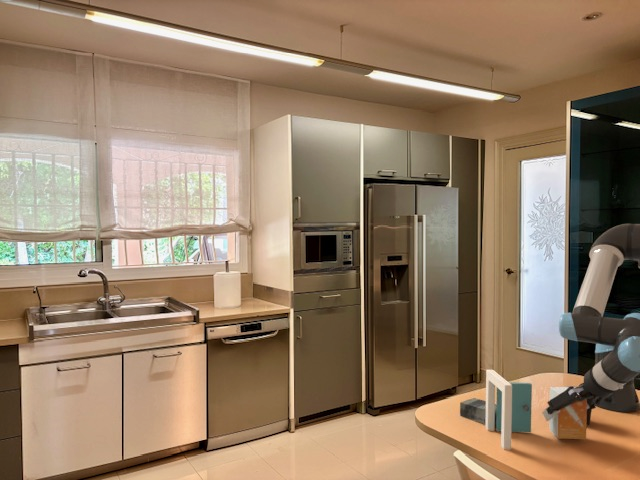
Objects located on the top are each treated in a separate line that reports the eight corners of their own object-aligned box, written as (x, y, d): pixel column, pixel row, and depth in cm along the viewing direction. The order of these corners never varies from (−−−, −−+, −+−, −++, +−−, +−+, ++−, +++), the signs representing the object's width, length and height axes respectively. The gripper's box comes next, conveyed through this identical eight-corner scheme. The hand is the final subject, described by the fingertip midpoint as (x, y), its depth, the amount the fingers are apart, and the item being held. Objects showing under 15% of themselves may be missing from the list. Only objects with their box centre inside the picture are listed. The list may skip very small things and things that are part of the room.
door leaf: (496, 429, 146) (496, 381, 145) (529, 430, 145) (530, 382, 145) (498, 432, 143) (499, 384, 143) (532, 434, 143) (533, 385, 142)
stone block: (475, 410, 163) (476, 395, 163) (515, 424, 152) (515, 408, 152) (459, 416, 158) (459, 400, 157) (499, 431, 146) (500, 414, 146)
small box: (557, 439, 138) (558, 394, 137) (548, 429, 144) (549, 386, 143) (587, 439, 137) (587, 394, 137) (576, 430, 143) (577, 386, 143)
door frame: (491, 427, 148) (492, 369, 148) (511, 449, 134) (512, 385, 133) (485, 427, 148) (486, 369, 148) (503, 449, 134) (504, 385, 133)
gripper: (578, 396, 122) (534, 431, 138) (646, 387, 128) (596, 422, 144) (563, 369, 127) (521, 406, 143) (629, 362, 133) (583, 398, 149)
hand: (559, 414), depth 143 cm, fingers closed on small box, 9 cm apart
